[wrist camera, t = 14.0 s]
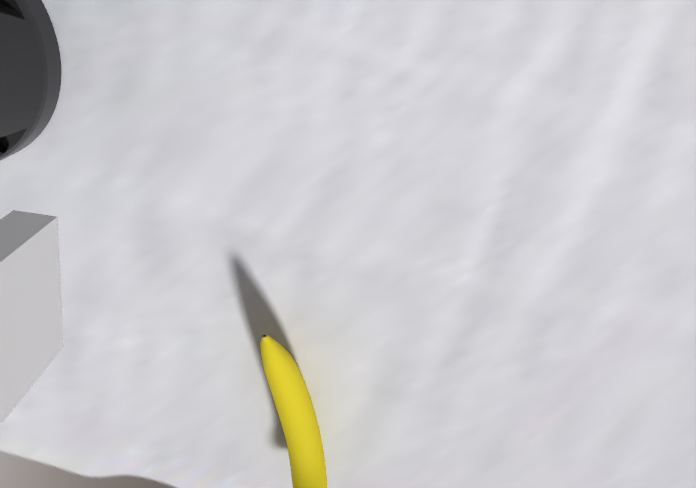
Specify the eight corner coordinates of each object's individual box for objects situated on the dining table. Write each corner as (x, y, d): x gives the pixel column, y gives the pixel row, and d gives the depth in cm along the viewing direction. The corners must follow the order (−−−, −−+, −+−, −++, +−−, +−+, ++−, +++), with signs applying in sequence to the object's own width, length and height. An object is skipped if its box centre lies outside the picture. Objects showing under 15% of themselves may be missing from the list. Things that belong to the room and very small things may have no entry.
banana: (293, 298, 47) (282, 344, 41) (337, 487, 54) (332, 548, 49) (256, 303, 47) (239, 349, 42) (304, 490, 55) (296, 551, 49)
